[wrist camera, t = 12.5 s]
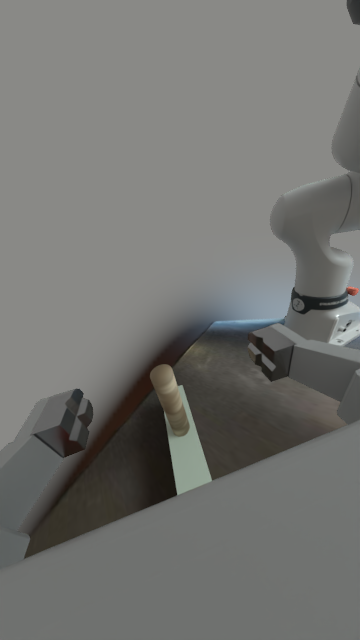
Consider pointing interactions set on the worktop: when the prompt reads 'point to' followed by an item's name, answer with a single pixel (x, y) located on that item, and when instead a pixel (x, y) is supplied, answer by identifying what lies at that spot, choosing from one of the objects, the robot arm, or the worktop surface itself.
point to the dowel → (170, 399)
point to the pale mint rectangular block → (187, 455)
